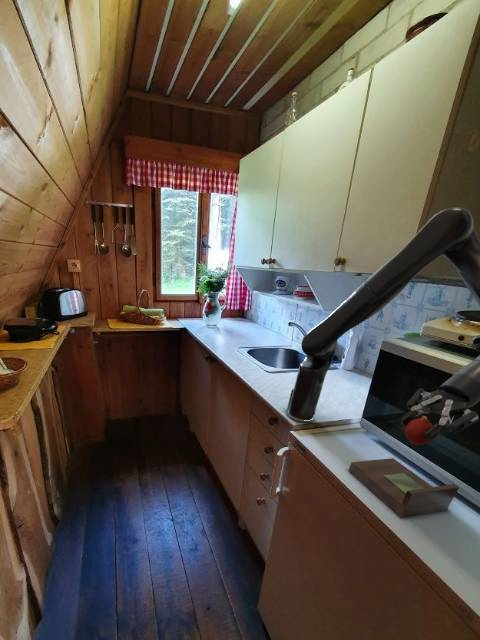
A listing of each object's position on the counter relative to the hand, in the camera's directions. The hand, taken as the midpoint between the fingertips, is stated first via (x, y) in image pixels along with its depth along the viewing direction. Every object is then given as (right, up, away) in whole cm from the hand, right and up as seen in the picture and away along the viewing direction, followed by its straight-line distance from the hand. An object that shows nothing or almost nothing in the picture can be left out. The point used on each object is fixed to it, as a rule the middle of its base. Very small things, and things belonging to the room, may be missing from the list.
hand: (414, 430), depth 74 cm
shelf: (0, -17, +7) cm, 18 cm away
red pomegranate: (+1, -4, +2) cm, 5 cm away
